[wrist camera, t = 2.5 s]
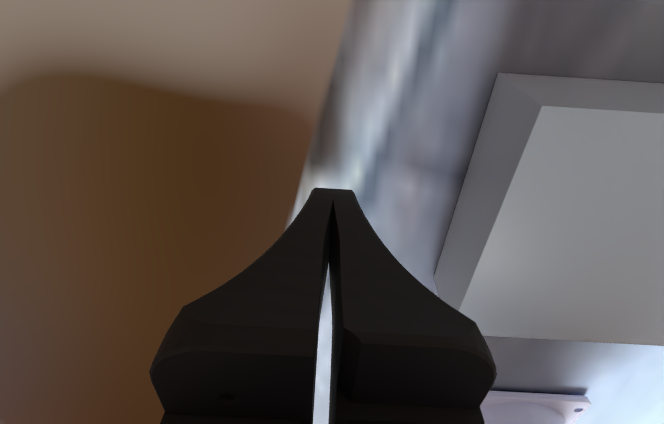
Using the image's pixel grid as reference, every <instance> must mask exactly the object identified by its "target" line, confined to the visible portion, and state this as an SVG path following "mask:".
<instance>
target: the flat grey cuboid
mask: <svg viewBox="0 0 664 424" xmlns="http://www.w3.org/2000/svg"><path fill="white" fill-rule="evenodd" d="M434 281H435V284H436V288H437V291H438V295H439V298H440V299H441V300H443V301H444V302H445V303H447V304H448V305H450V306H451V307H453V308H454V309H456V310H458V311H459V312H461V313H462V314H464V315H465V316H467V317H468V318H470V319H471V320H473V321H474V322H476V324H477V326H478V328H479V330H480V332H481V334H482V336H495V337H513V338H531V339H549V340H567V341H585V342H603V343H621V344H639V345H657V346H664V83H649V82H634V81H619V80H603V79H588V78H573V77H557V76H542V75H527V74H511V73H498V75H497V78H496V81H495V84H494V87H493V91H492V94H491V97H490V100H489V103H488V106H487V110H486V113H485V116H484V119H483V122H482V125H481V129H480V132H479V135H478V138H477V141H476V144H475V148H474V151H473V154H472V157H471V160H470V163H469V167H468V170H467V173H466V176H465V179H464V182H463V186H462V189H461V192H460V195H459V198H458V201H457V205H456V208H455V211H454V214H453V217H452V220H451V224H450V227H449V230H448V233H447V236H446V239H445V243H444V246H443V249H442V252H441V255H440V258H439V262H438V265H437V268H436V271H435V274H434Z"/></svg>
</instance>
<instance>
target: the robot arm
mask: <svg viewBox="0 0 664 424" xmlns="http://www.w3.org/2000/svg"><path fill="white" fill-rule="evenodd" d="M328 263H329V273H330V289H331V305H332V354H331V380H330V405H329V424H573V423H574V422H575V421H576V420H577V419H578V418H579V417H580V416H581V415H582V414H583V413H584V412H585V411H586V410H587V409H588V408H589V407H590V405H591V403H590V401H589V399H588V398H587V397H586V396H579V395H561V394H542V393H523V392H505V391H489V390H490V389H491V387H492V385H493V384H494V381H495V378H496V375H497V373H496V366H495V363H494V361H493V358H492V355H491V353H490V350H489V348H488V346H487V344H486V341H485V339H484V337H483V336H482V334H481V332H480V330H479V328H478V326H477V324H476V322H474V321H473V320H471V319H470V318H468V317H467V316H465V315H464V314H462V313H461V312H459V311H458V310H456V309H454V308H453V307H451V306H450V305H448V304H447V303H445V302H444V301H443V300H441V299H440V298H439V297H437V296H436V295H435V294H434V293H432V292H431V291H430V290H428V289H427V288H426V287H425V286H424V285H422V284H421V283H420V282H419V281H418V280H417V279H416V278H415V277H413V276H412V275H411V274H410V273H409V272H408V271H407V270H406V269H405V268H404V267H403V266H402V265H401V264H400V263H399V262H398V261H397V260H396V258H395V257H394V256H393V255H392V254H391V253H390V251H389V250H388V249H387V248H386V246H385V245H384V244H383V243H382V241H381V240H380V238H379V237H378V236H377V234H376V233H375V231H374V230H373V228H372V227H371V225H370V223H369V222H368V220H367V218H366V217H365V215H364V213H363V211H362V209H361V207H360V205H359V203H358V201H357V199H356V196H355V194H354V192H353V191H352V190H343V189H327V188H314V189H313V190H312V191H311V194H310V196H309V198H308V200H307V202H306V203H305V205H304V206H303V208H302V210H301V211H300V212H299V214H298V215H297V217H296V218H295V219H294V221H293V222H292V223H291V225H290V226H289V227H288V228H287V230H286V231H285V232H284V233H283V234H282V236H281V237H280V238H279V239H278V240H277V241H276V242H275V243H274V244H273V245H272V246H271V247H270V248H269V249H268V250H267V251H266V252H265V253H264V254H263V255H262V256H261V257H259V258H258V259H257V260H256V261H255V262H253V263H252V264H251V265H250V266H249V267H247V268H246V269H245V270H243V271H242V272H241V273H239V274H238V275H236V276H235V277H233V278H232V279H231V280H229V281H228V282H226V283H225V284H223V285H222V286H220V287H219V288H217V289H215V290H213V291H212V292H210V293H208V294H206V295H204V296H203V297H200V298H199V299H197V300H195V301H193V302H191V303H189V304H187V305H185V306H183V307H182V309H181V311H180V312H179V314H178V315H177V317H176V318H175V320H174V322H173V323H172V325H171V326H170V328H169V329H168V331H167V333H166V335H165V337H164V339H163V341H162V343H161V345H160V347H159V349H158V352H157V354H156V356H155V358H154V361H153V363H152V365H151V368H150V377H151V381H152V384H153V386H154V388H155V390H156V393H157V395H158V397H159V399H160V401H161V403H162V406H163V408H164V410H165V413H164V415H163V418H162V420H161V423H160V424H313V410H314V394H315V378H316V363H317V347H318V331H319V321H320V313H321V307H322V301H323V295H324V288H325V282H326V276H327V270H328Z"/></svg>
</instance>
